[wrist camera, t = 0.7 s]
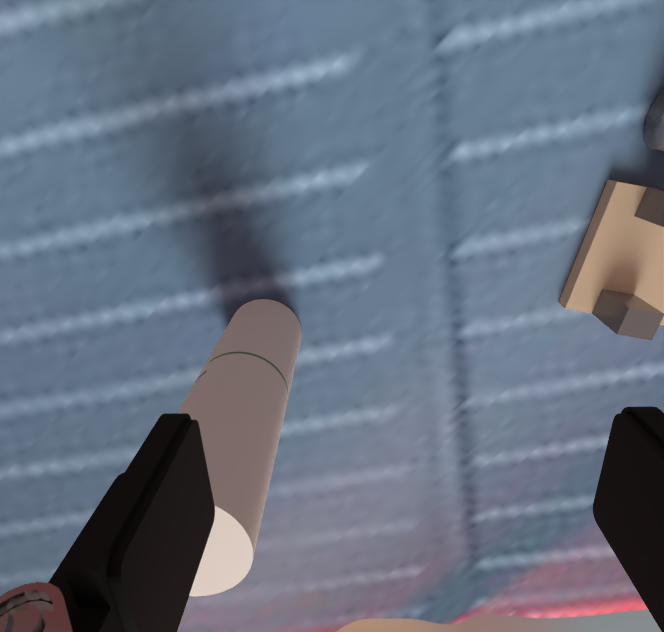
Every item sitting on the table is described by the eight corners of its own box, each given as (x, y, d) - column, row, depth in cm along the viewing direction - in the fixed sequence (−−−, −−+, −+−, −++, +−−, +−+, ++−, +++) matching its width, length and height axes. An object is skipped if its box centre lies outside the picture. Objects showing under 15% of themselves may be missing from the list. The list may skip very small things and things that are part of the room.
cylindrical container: (216, 334, 46) (85, 549, 24) (259, 284, 44) (161, 470, 21) (271, 375, 48) (200, 614, 25) (316, 330, 46) (282, 548, 23)
